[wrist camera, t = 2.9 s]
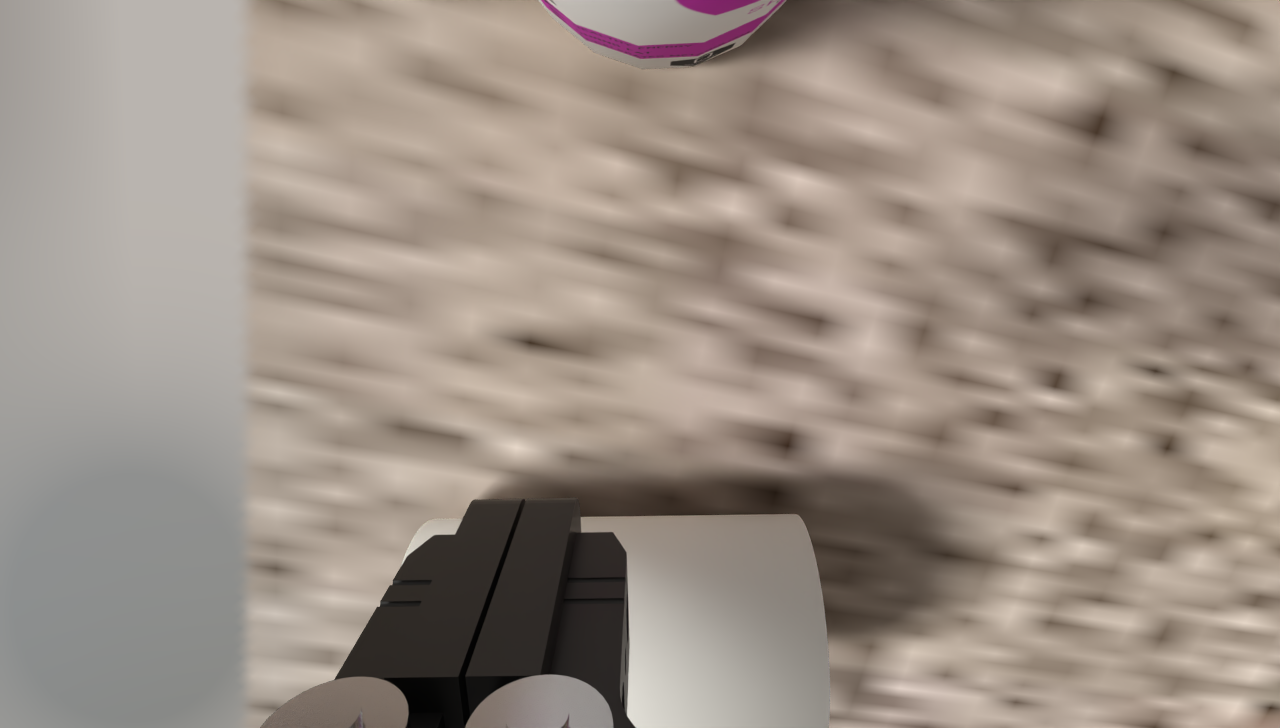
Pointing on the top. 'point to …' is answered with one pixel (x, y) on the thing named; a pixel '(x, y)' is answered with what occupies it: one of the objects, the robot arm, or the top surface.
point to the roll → (717, 619)
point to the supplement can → (661, 28)
